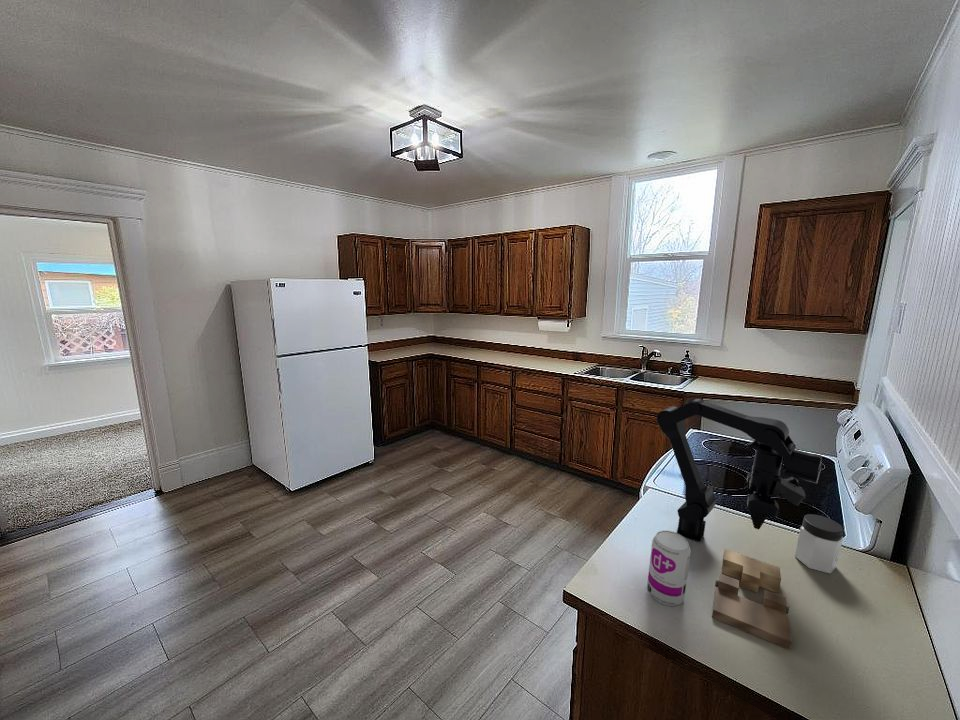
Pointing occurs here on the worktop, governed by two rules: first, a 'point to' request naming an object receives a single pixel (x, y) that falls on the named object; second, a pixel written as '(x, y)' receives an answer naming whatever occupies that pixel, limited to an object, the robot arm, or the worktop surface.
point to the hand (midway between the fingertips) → (756, 521)
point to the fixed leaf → (752, 612)
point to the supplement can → (668, 568)
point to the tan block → (751, 571)
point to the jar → (819, 543)
